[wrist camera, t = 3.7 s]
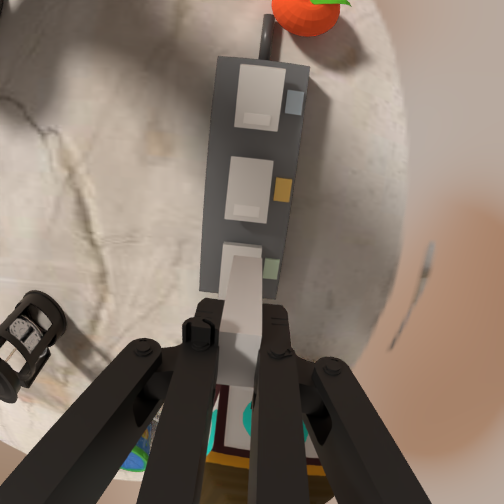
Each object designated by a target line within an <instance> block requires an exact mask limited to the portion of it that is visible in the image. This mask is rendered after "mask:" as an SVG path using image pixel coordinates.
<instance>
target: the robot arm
mask: <svg viewBox="0 0 504 504" xmlns="http://www.w3.org/2000/svg"><path fill="white" fill-rule="evenodd" d="M2 4H3V0H0V14H1V10H2ZM182 340H183V343H182V344H180V345H178V346H175V347H167V348H161V346H160V345H159V343H158V342H156V341H154V340H153V339H148V338H139V339H136V340H133V341H132V342H130V343H129V344H128V345H127V346H126V347H125V348H124V349H123V350H122V351H121V352H120V353H119V354H118V355H117V356H116V358H115V359H114V360H113V361H112V362H111V363H110V364H109V365H108V366H107V367H106V368H105V369H104V370H103V371H102V373H101V374H100V375H99V376H98V377H97V378H96V379H95V380H94V381H93V382H92V383H91V384H90V386H89V387H88V388H87V389H86V390H85V391H84V392H83V393H82V394H81V395H80V396H79V398H78V399H77V400H76V401H75V402H74V403H73V404H72V405H71V406H70V407H69V409H68V410H67V411H66V412H65V413H64V414H63V415H62V416H61V417H60V419H59V420H58V421H57V422H56V423H55V424H54V425H53V426H52V427H51V429H50V430H49V431H48V432H47V433H46V434H45V435H44V436H43V438H42V439H41V440H40V441H39V442H38V443H37V444H36V445H35V447H34V448H33V449H32V450H31V451H30V452H29V453H28V455H27V456H26V457H25V458H24V459H23V461H22V462H21V463H20V464H19V465H18V466H17V467H16V468H15V470H14V471H13V472H12V473H11V474H10V475H9V477H8V478H7V479H6V480H5V481H4V482H3V484H2V485H1V486H0V504H96V503H97V501H98V500H99V499H100V497H101V496H102V494H103V493H104V491H105V489H106V488H107V486H108V485H109V484H110V482H111V481H112V479H113V478H114V476H115V475H116V473H117V472H118V470H119V469H120V467H121V466H122V465H123V463H124V462H125V460H126V459H127V457H128V456H129V454H130V453H131V451H132V450H133V448H134V447H135V445H136V444H137V442H138V441H139V439H140V438H141V436H142V435H143V433H144V432H145V430H146V429H147V427H148V426H149V424H150V423H151V421H152V420H153V418H154V417H155V415H156V414H157V412H158V411H159V409H160V408H161V406H162V405H163V403H164V405H163V408H162V412H161V415H160V419H159V422H158V426H157V429H156V433H155V436H154V440H153V443H152V447H151V450H150V454H149V458H148V461H147V465H146V469H145V472H144V476H143V480H142V484H141V488H140V491H139V495H138V499H137V503H136V504H200V497H201V490H202V483H203V476H204V468H205V461H206V454H207V447H208V441H209V434H210V427H211V420H212V413H213V407H214V400H215V392H216V384H223V385H232V386H241V387H252V388H253V387H254V390H253V396H252V402H251V408H250V409H252V416H251V438H250V460H249V481H248V502H247V504H310V500H309V487H308V474H307V463H306V451H305V440H304V430H303V422H304V424H305V427H306V429H307V431H308V434H309V436H310V439H311V441H312V443H313V446H314V448H315V451H316V453H317V455H318V458H319V460H320V462H321V465H322V467H323V470H324V472H325V474H326V477H327V479H328V481H329V484H330V486H331V488H332V491H333V493H334V495H335V498H336V500H337V502H338V504H432V503H431V502H430V500H429V498H428V496H427V495H426V493H425V491H424V490H423V488H422V486H421V485H420V483H419V481H418V480H417V478H416V476H415V474H414V473H413V471H412V469H411V468H410V466H409V465H408V463H407V461H406V460H405V458H404V456H403V455H402V453H401V451H400V449H399V448H398V446H397V445H396V443H395V441H394V439H393V438H392V436H391V434H390V433H389V431H388V430H387V428H386V426H385V425H384V423H383V421H382V420H381V418H380V416H379V415H378V413H377V412H376V410H375V408H374V407H373V405H372V403H371V402H370V400H369V399H368V397H367V395H366V394H365V392H364V390H363V389H362V387H361V386H360V384H359V382H358V381H357V379H356V378H355V376H354V375H353V373H352V371H351V370H350V368H349V366H348V365H347V364H346V363H345V362H344V361H342V360H340V359H338V358H334V357H324V358H320V359H319V360H318V361H317V362H316V363H312V362H309V361H306V360H303V359H301V358H299V357H298V356H297V355H296V354H295V352H294V350H293V349H292V348H291V341H290V332H289V323H288V314H287V311H286V310H285V308H284V307H283V306H282V305H273V304H263V303H262V258H256V257H247V256H237V255H234V257H233V262H232V267H231V272H230V277H229V282H228V287H227V293H226V298H225V300H219V299H211V298H204V299H203V300H202V301H201V302H199V303H198V306H197V309H196V313H195V316H194V317H192V318H189V319H187V320H186V321H185V322H184V323H183V324H182ZM164 401H165V402H164Z"/></svg>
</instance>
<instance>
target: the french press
mask: <svg viewBox="0 0 504 504" xmlns="http://www.w3.org/2000/svg"><path fill="white" fill-rule="evenodd" d="M30 304H32V305H34V306H36V307H37V308H39V309H40V310H41V311H42V312H43V313H44V314H45V315H46V316H47V317H48V318H49V320H50V321H51V323H52V325H51V327H50V328H49V329H48V330H47V331H45V330H43V329H42V328H40V327H39V326H38V325H37V324H36V323H35V322H34V321H33V320H32V318H31V316H30V314H29V311H28V306H29V305H30ZM65 330H66V319H65V316H64V313H63V311H62V310H61V308H60V306H59V305H58V304H57V303H56V302H55V301H54V299H52V298H51V297H50V296H49V295H47V294H45V293H43V292H41V291H37V290H32V291H29V292H27V293H26V294H25V295H24V297H23V299H22V300H21V301H20V302H19V303H18V304H17V305H16V307H15V310H14V311H13V312H12V313H11V314H10V315H9V316H8V317H7V319H6V320H5V321H4V322H3V323H2V324H1V325H0V348H1V347H2V345H3V344H4V343H5V342H6V341H9V342H10V343H11V344H12V345H13V346H15V348H14V350H13V351H12V352H11V353H10V355H9V356H8V357H7V358H6V360H5V361H4V360H2V359H1V358H0V400H2V401H4V402H7V403H15V402H16V401H17V398H18V397H17V393H18V392H19V390H20V388H21V386H22V387H25V388H29V387H30V386H31V384H32V383H33V381H34V380H35V378H36V377H37V375H38V374H39V372H40V371H41V369H42V368H43V366H44V365H45V363H46V362H47V360H48V359H49V357H50V356H51V353H50V350H49V348H48V347H51V346H53V345H54V344H55V343H56V341H57V340H58V338H59V337H60V336H62V335H63V334H64V332H65ZM16 350H18V351H19V352H20V353H21V354H22V355H23V357H24V358H25V360H26V363H25V365H24V366H23V368H22V369H21V370H20V372H19V373H18V372H16V371H14V370H13V369H12V368H11V366H10V365H9V364H8V363H7V361H8V360H9V359H10V357H11V356H12V355H13V353H14V352H15V351H16Z"/></svg>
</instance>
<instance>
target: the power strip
mask: <svg viewBox="0 0 504 504" xmlns="http://www.w3.org/2000/svg"><path fill="white" fill-rule="evenodd" d="M274 22H275V17H274V15H272V14H264V19H263V27H262V35H261V43H260V51H259V59H249V58H237V57H223V56H218V59H217V68H216V76H215V85H214V94H213V103H212V113H211V123H210V133H209V144H208V156H207V168H206V181H205V194H204V209H203V225H202V242H201V262H200V286H199V291H202V292H211V293H219V283H220V272H221V261H222V250H223V243H224V241H225V242H234V243H243V244H252V245H262V254H261V258H262V298H267V299H276V294H277V289H278V283H279V277H280V271H281V265H282V259H283V253H284V247H285V241H286V234H287V228H288V222H289V215H290V209H291V202H292V196H293V189H294V182H295V175H296V169H297V162H298V155H299V147H300V140H301V133H302V126H303V118H304V110H305V103H306V95H307V87H308V79H309V71H310V66H304V65H297V64H291V63H284V62H276V61H270V55H271V47H272V38H273V30H274ZM241 64H248V65H258V66H267V67H276V68H283V69H286V73H285V80H284V88H283V95H282V102H281V109H280V117H279V124H278V131H277V132H275V131H267V130H258V129H249V128H239V127H234V123H235V112H236V102H237V92H238V82H239V72H240V65H241ZM231 156H235V157H245V158H254V159H263V160H271V161H274V162H273V171H272V180H271V188H270V197H269V205H268V214H267V222H266V224H265V223H256V222H247V221H238V220H229V219H224V217H225V207H226V198H227V189H228V179H229V170H230V161H231Z"/></svg>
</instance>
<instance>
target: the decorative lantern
mask: <svg viewBox="0 0 504 504" xmlns="http://www.w3.org/2000/svg"><path fill="white" fill-rule="evenodd" d="M253 390H254V387H253V388H252V387H241V386H232V385H223V384H216V392H215V400H214V407H213V413H212V420H211V427H210V434H209V441H208V447H207V454H206V461H205V468H204V476H203V483H202V490H201V497H200V504H247V502H248V481H249V460H250V438H251V416H252V409H250V408H251V402H252V396H253ZM303 430H304V440H305V451H306V463H307V474H308V487H309V500H310V504H325V503H326V502H328V501H329V500H331V499H332V498H333V497H334V493H333V491H332V488H331V486H330V484H329V481H328V479H327V477H326V474H325V472H324V470H323V467H322V465H321V462H320V460H319V458H318V455H317V453H316V451H315V448H314V446H313V443H312V441H311V439H310V436H309V434H308V431H307V429H306V427H305V424H304V422H303Z"/></svg>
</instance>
